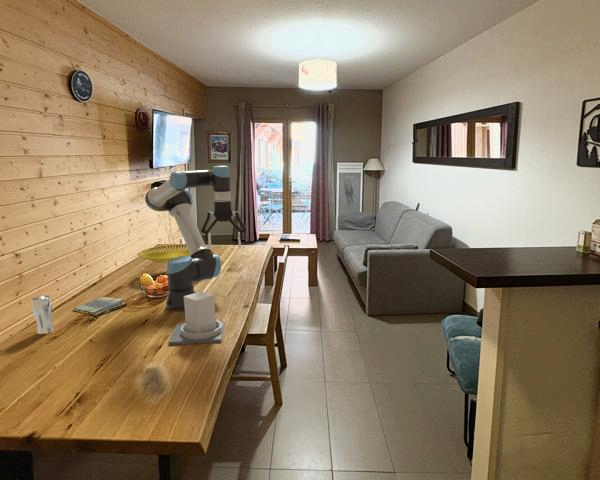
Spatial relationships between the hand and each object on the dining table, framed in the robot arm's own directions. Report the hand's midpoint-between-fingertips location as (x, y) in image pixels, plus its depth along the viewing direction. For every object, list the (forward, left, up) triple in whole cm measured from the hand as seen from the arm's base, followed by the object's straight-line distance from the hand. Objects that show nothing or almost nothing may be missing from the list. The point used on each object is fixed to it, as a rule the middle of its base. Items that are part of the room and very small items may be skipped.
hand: (224, 247), depth 201 cm
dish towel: (-61, +11, -30) cm, 69 cm away
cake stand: (-36, +66, -30) cm, 81 cm away
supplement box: (-9, -28, -29) cm, 41 cm away
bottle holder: (-10, -28, -30) cm, 42 cm away
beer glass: (-74, -17, -30) cm, 82 cm away
